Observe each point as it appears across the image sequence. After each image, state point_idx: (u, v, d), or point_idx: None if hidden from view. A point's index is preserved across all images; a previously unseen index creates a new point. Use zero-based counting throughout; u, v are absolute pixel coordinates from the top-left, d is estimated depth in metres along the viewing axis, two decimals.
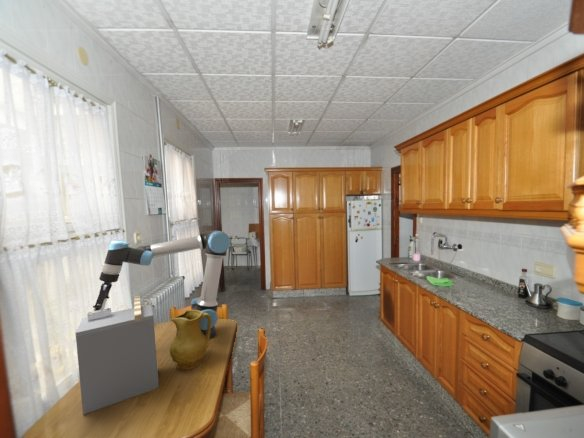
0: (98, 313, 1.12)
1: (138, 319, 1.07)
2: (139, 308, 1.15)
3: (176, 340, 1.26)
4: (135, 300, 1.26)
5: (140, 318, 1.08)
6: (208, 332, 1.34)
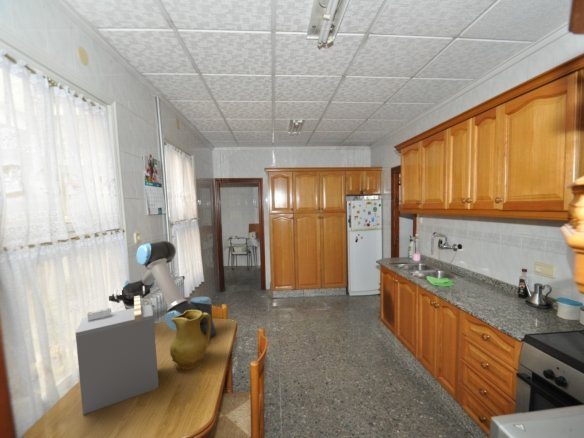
0: (98, 313, 1.12)
1: (138, 319, 1.07)
2: (139, 308, 1.15)
3: (176, 340, 1.26)
4: (135, 300, 1.26)
5: (140, 318, 1.08)
6: (208, 332, 1.34)
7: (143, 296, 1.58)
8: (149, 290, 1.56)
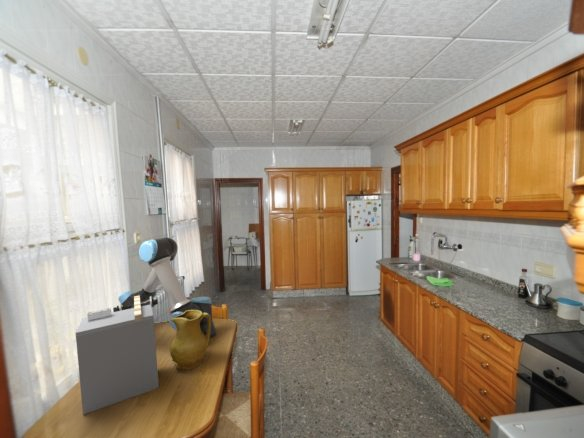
0: (98, 313, 1.12)
1: (138, 319, 1.07)
2: (139, 308, 1.15)
3: (176, 340, 1.26)
4: (135, 300, 1.26)
5: (140, 318, 1.08)
6: (208, 332, 1.34)
7: None
8: (156, 300, 1.44)
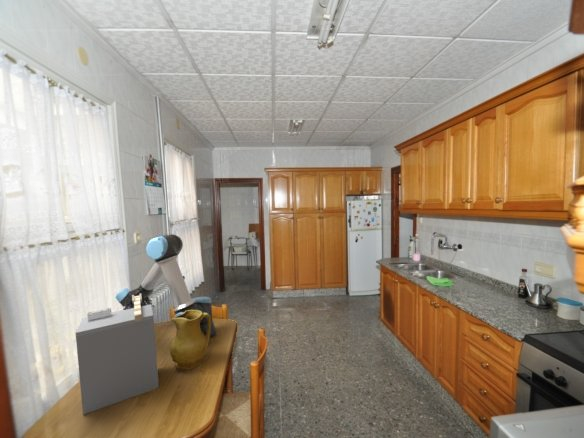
0: (98, 313, 1.12)
1: (138, 318, 1.07)
2: (139, 308, 1.15)
3: (176, 340, 1.26)
4: (135, 300, 1.26)
5: (140, 318, 1.08)
6: (208, 332, 1.34)
7: (147, 304, 1.38)
8: (146, 298, 1.34)
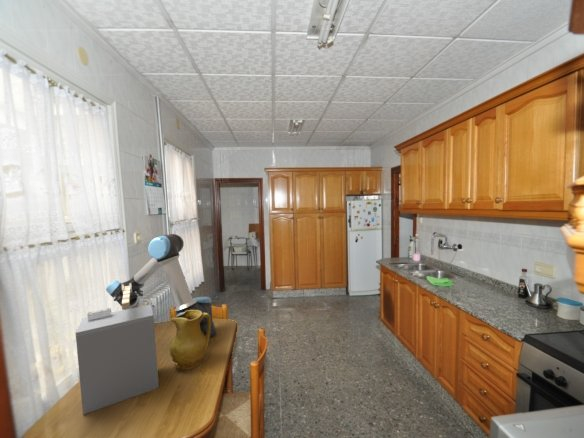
0: (98, 313, 1.12)
1: (125, 307, 1.05)
2: (128, 297, 1.13)
3: (176, 340, 1.26)
4: (125, 290, 1.24)
5: (127, 306, 1.06)
6: (208, 332, 1.34)
7: (138, 294, 1.37)
8: (137, 288, 1.32)
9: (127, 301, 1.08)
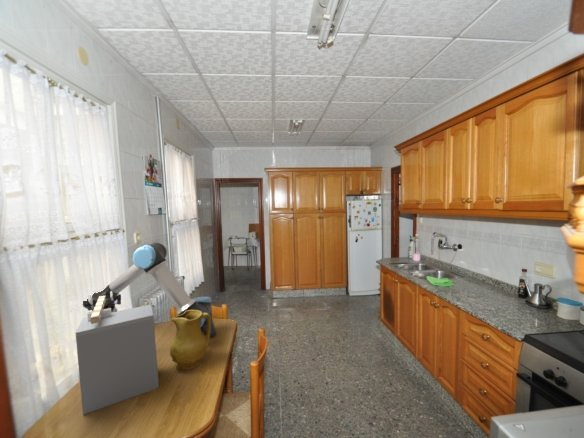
0: None
1: (94, 321, 1.00)
2: (99, 309, 1.08)
3: (176, 340, 1.26)
4: (98, 301, 1.18)
5: (97, 320, 1.00)
6: (208, 332, 1.34)
7: (117, 303, 1.32)
8: (119, 296, 1.28)
9: (97, 314, 1.02)
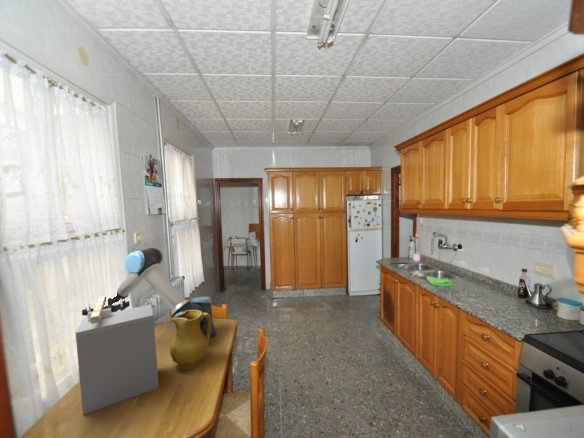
0: None
1: (94, 321, 1.00)
2: (99, 309, 1.08)
3: (176, 340, 1.26)
4: (98, 301, 1.18)
5: (97, 320, 1.00)
6: (208, 332, 1.34)
7: (122, 309, 1.44)
8: (128, 303, 1.42)
9: (97, 314, 1.02)
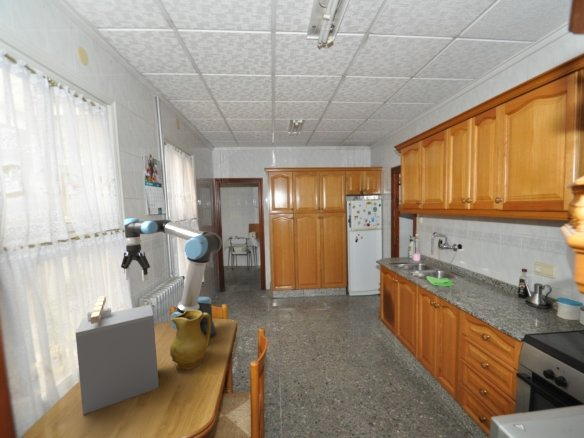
0: None
1: (94, 321, 1.00)
2: (99, 309, 1.08)
3: (176, 340, 1.26)
4: (98, 301, 1.18)
5: (97, 320, 1.00)
6: (208, 332, 1.34)
7: (124, 258, 1.57)
8: None
9: (97, 314, 1.02)
